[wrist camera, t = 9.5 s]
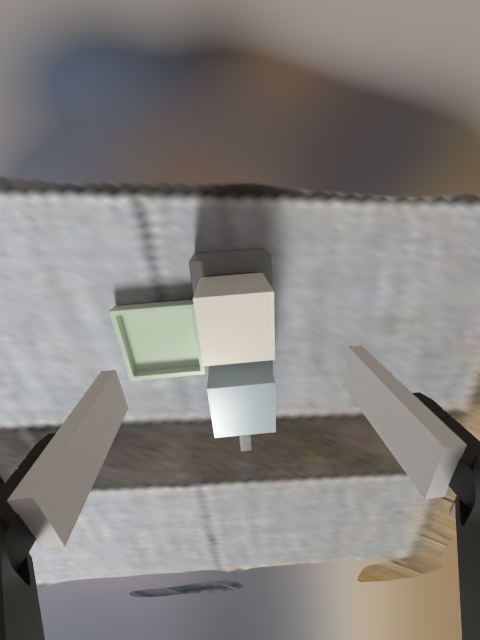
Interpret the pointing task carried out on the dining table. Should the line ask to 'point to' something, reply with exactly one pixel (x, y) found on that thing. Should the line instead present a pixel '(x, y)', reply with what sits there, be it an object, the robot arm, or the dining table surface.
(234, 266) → the strip
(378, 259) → the dining table surface
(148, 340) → the tray
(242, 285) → the plug
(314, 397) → the dining table surface
